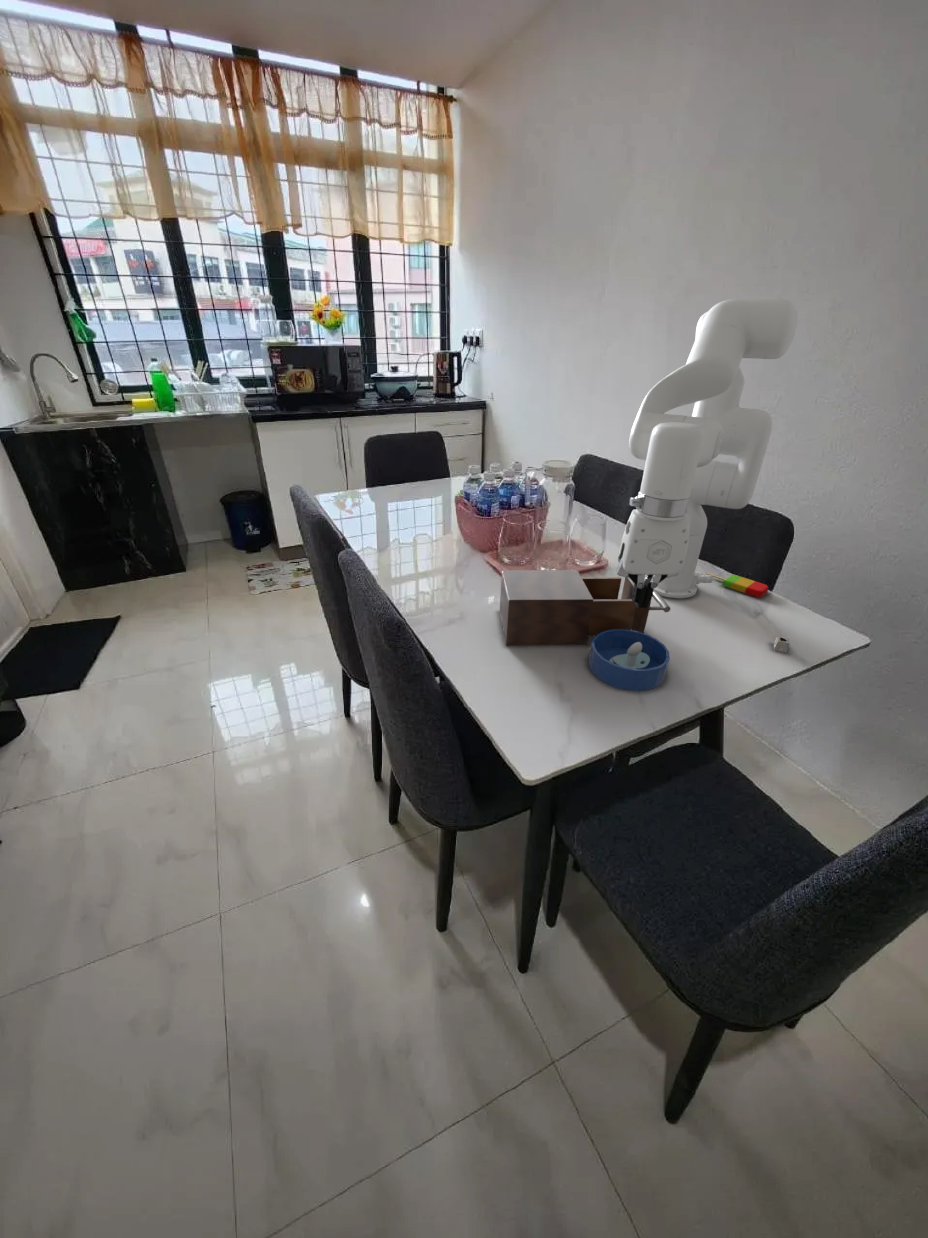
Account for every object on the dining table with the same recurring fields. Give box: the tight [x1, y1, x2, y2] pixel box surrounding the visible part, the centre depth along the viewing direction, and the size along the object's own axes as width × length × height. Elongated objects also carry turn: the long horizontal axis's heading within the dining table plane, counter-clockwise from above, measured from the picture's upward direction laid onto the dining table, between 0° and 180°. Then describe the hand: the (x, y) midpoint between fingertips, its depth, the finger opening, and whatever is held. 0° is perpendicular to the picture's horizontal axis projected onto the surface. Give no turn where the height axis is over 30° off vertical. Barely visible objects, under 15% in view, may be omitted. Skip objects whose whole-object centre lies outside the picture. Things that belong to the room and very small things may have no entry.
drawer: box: [581, 576, 671, 637], centre depth 107 cm, size 21×12×9 cm, turn 92°
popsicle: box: [704, 571, 769, 598], centre depth 128 cm, size 6×15×2 cm, turn 43°
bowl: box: [588, 629, 671, 692], centre depth 95 cm, size 14×14×4 cm
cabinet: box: [499, 569, 593, 646], centre depth 106 cm, size 17×14×11 cm
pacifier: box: [609, 642, 650, 669], centre depth 95 cm, size 7×6×6 cm
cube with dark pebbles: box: [773, 635, 791, 654], centre depth 102 cm, size 2×2×2 cm
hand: (639, 604), depth 90 cm, fingers closed
